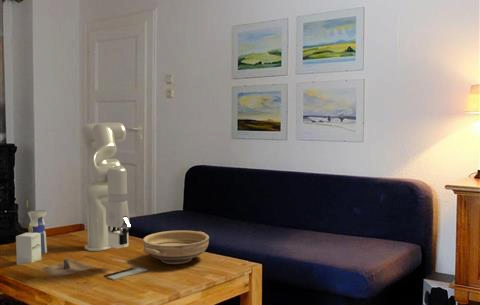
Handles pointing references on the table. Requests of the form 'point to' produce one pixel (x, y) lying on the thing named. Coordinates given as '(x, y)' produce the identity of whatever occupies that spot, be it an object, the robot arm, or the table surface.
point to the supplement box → (28, 247)
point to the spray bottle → (38, 226)
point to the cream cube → (116, 240)
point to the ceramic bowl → (176, 245)
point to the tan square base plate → (66, 268)
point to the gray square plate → (125, 273)
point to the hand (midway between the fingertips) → (118, 242)
